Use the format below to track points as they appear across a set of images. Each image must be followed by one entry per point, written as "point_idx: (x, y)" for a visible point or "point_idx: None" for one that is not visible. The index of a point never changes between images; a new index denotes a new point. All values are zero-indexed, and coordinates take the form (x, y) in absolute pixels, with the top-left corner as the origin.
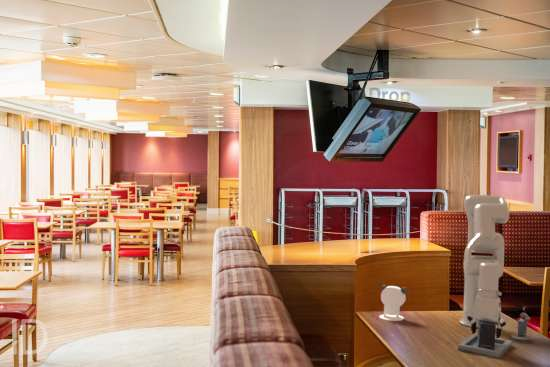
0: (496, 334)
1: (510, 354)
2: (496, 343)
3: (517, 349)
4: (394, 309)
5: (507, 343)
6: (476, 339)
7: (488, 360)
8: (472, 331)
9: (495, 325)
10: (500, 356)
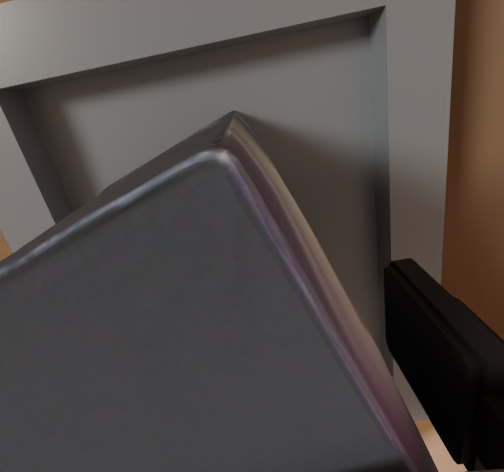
0: (407, 377)
1: (464, 247)
2: (272, 79)
3: (498, 32)
4: None
5: (432, 113)
6: (40, 115)
7: None
8: None
9: None
10: None
